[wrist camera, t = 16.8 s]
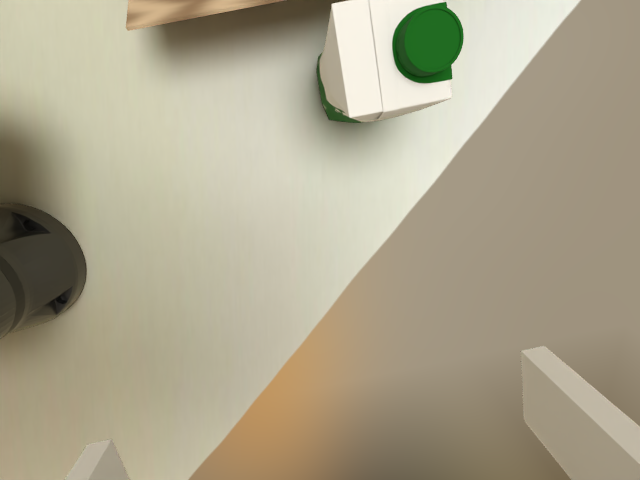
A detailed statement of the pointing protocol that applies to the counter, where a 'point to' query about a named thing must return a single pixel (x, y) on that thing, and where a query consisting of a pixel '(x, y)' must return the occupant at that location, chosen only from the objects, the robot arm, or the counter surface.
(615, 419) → the robot arm
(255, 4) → the wooden box frame
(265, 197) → the counter surface
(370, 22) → the milk carton
